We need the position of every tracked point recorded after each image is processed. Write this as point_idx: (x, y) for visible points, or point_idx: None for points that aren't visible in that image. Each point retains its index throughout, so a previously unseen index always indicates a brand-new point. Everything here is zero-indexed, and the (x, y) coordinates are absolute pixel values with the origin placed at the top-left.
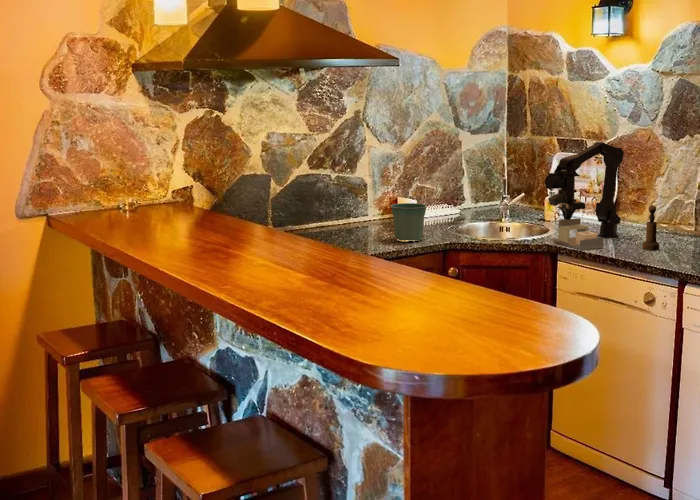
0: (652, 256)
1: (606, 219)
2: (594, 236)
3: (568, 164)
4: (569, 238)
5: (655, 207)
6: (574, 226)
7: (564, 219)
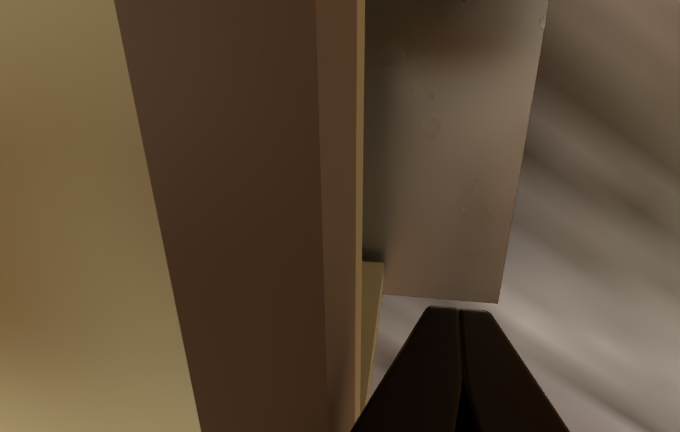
0: None
1: None
2: None
3: None
4: (476, 187)
5: None
6: (3, 248)
7: (524, 391)
